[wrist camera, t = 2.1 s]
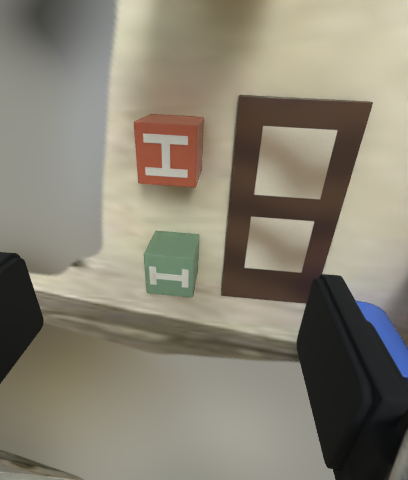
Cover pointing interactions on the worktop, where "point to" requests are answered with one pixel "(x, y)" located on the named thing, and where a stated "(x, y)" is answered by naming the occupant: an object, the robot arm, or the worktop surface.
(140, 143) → the letter H
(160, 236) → the letter I
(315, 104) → the word board
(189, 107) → the worktop surface
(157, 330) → the worktop surface
